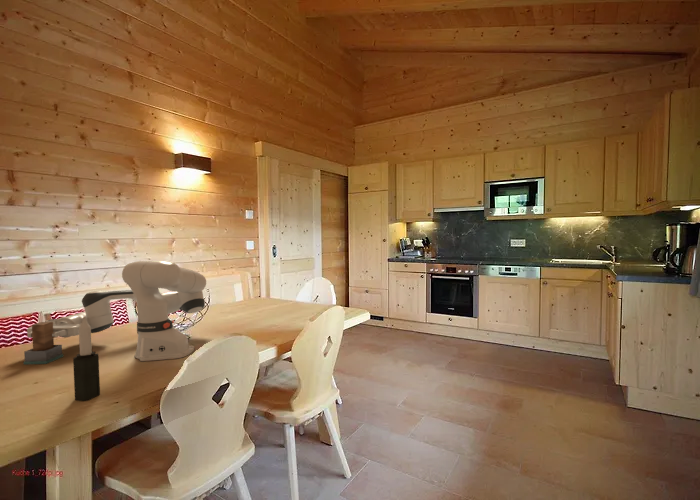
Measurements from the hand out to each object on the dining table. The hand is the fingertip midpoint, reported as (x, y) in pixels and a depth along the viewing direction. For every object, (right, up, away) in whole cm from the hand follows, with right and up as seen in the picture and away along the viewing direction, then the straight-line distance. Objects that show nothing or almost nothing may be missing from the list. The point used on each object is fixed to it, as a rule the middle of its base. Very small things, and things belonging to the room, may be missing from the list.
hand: (41, 335), depth 141 cm
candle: (+42, -11, -32) cm, 55 cm away
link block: (0, -9, +1) cm, 9 cm away
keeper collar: (0, -10, +1) cm, 10 cm away
